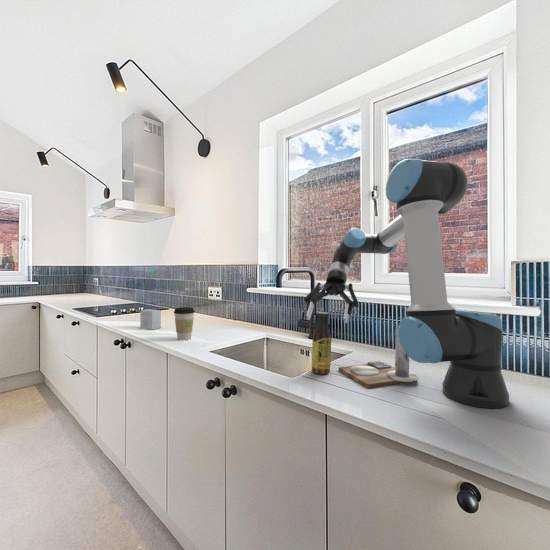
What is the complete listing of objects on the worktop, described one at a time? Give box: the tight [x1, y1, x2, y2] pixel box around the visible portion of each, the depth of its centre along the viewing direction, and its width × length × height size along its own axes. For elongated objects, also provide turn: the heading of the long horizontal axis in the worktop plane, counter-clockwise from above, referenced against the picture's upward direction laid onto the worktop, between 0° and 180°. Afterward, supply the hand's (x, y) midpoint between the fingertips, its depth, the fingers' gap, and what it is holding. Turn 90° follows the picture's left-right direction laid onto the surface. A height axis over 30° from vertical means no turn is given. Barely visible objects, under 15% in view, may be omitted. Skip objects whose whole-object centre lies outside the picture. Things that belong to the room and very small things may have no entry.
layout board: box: [338, 360, 419, 389], centre depth 98 cm, size 18×18×2 cm
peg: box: [394, 328, 410, 378], centre depth 95 cm, size 4×4×14 cm
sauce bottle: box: [311, 311, 332, 375], centre depth 103 cm, size 6×6×20 cm
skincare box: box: [139, 308, 162, 330], centre depth 178 cm, size 10×6×10 cm, turn 60°
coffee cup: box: [173, 306, 196, 341], centre depth 150 cm, size 10×10×15 cm
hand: (326, 319), depth 110 cm, fingers open, 13 cm apart
